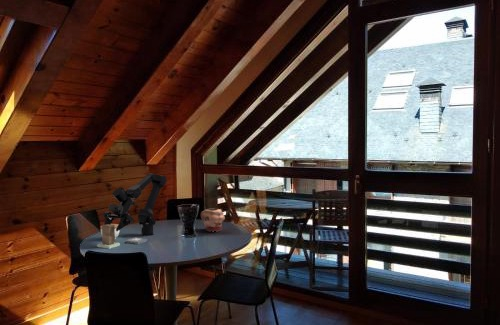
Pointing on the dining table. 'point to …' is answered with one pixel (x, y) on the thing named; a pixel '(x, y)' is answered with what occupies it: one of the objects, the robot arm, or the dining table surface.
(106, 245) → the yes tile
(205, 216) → the decorative planter
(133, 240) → the tile
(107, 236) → the walnut block
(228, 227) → the dining table surface
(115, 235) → the lidded jar
